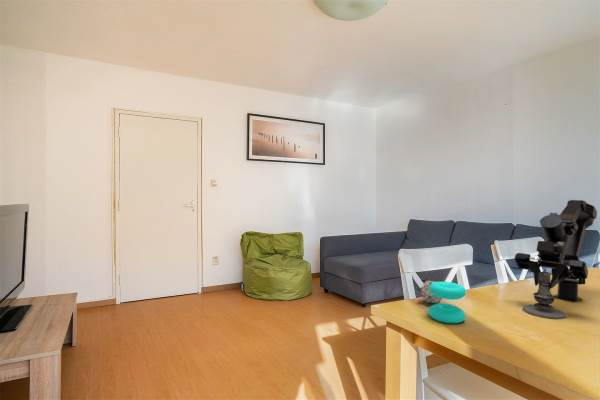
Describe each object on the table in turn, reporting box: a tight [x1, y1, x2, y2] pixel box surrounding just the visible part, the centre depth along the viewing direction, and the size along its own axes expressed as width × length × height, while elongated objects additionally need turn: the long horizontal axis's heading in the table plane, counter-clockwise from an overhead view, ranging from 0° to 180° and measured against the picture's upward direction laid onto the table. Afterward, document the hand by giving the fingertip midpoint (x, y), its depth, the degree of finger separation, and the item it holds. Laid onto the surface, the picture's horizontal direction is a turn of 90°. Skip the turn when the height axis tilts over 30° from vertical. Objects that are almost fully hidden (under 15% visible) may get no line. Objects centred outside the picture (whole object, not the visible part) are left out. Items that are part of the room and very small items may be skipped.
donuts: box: [428, 281, 467, 324], centre depth 101 cm, size 10×10×10 cm
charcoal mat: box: [522, 304, 566, 320], centre depth 108 cm, size 11×11×1 cm
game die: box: [417, 278, 443, 304], centre depth 114 cm, size 9×8×10 cm
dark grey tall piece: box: [532, 268, 556, 309], centre depth 108 cm, size 6×6×12 cm
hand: (542, 286), depth 107 cm, fingers closed on dark grey tall piece, 3 cm apart
